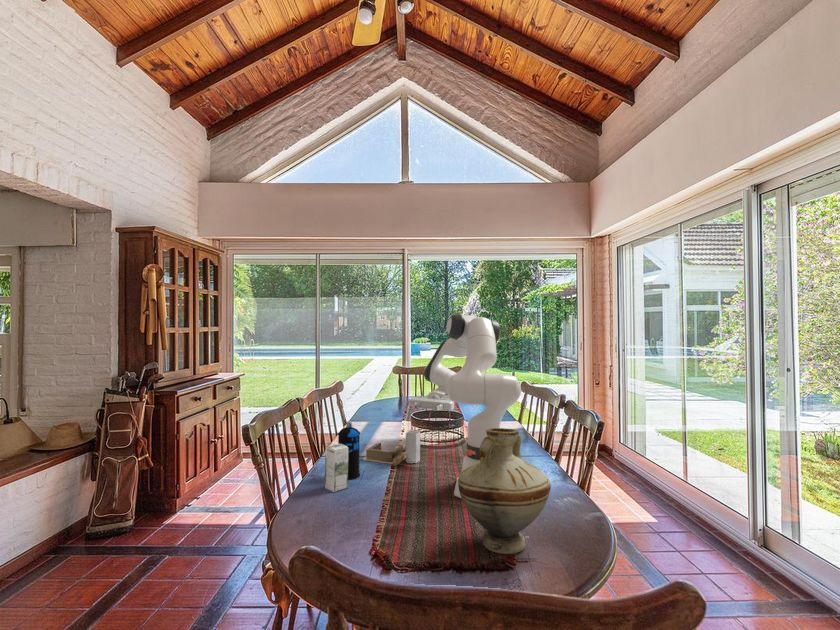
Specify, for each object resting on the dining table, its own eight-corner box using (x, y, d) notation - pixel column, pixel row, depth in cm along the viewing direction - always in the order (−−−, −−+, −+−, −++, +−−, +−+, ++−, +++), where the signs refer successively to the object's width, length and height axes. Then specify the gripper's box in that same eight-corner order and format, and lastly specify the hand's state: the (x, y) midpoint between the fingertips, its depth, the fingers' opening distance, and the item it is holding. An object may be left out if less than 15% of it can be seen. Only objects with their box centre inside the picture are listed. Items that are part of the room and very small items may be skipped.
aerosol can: (332, 476, 167) (333, 421, 167) (350, 470, 173) (350, 418, 173) (346, 481, 161) (347, 425, 161) (364, 475, 168) (364, 421, 168)
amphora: (538, 527, 129) (531, 420, 132) (569, 565, 105) (559, 433, 108) (456, 533, 128) (450, 424, 131) (468, 572, 105) (460, 439, 107)
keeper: (393, 464, 181) (393, 453, 181) (362, 460, 186) (362, 450, 186) (406, 454, 194) (406, 444, 194) (377, 450, 199) (377, 441, 199)
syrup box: (338, 483, 159) (338, 442, 159) (348, 488, 155) (348, 446, 155) (324, 488, 155) (324, 445, 155) (334, 493, 151) (334, 449, 151)
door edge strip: (395, 466, 178) (395, 461, 178) (393, 466, 179) (393, 460, 179) (410, 454, 193) (410, 450, 193) (408, 454, 193) (408, 449, 193)
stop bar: (416, 463, 181) (416, 433, 181) (405, 462, 183) (406, 432, 183) (420, 460, 185) (420, 431, 185) (410, 459, 187) (410, 430, 187)
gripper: (415, 391, 213) (403, 398, 200) (457, 395, 205) (447, 402, 192) (415, 405, 213) (403, 412, 200) (457, 409, 206) (447, 417, 193)
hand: (425, 407), depth 196 cm, fingers open, 8 cm apart
